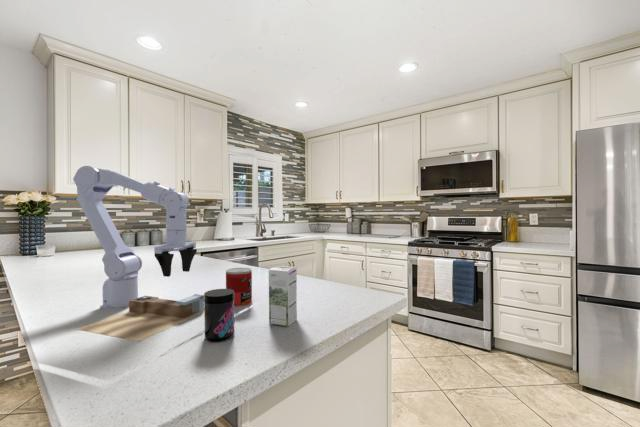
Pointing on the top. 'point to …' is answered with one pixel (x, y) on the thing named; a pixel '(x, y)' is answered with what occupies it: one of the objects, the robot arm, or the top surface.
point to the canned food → (240, 285)
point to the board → (134, 325)
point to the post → (143, 298)
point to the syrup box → (282, 295)
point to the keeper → (194, 302)
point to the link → (160, 307)
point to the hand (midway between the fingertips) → (176, 273)
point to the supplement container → (219, 314)
